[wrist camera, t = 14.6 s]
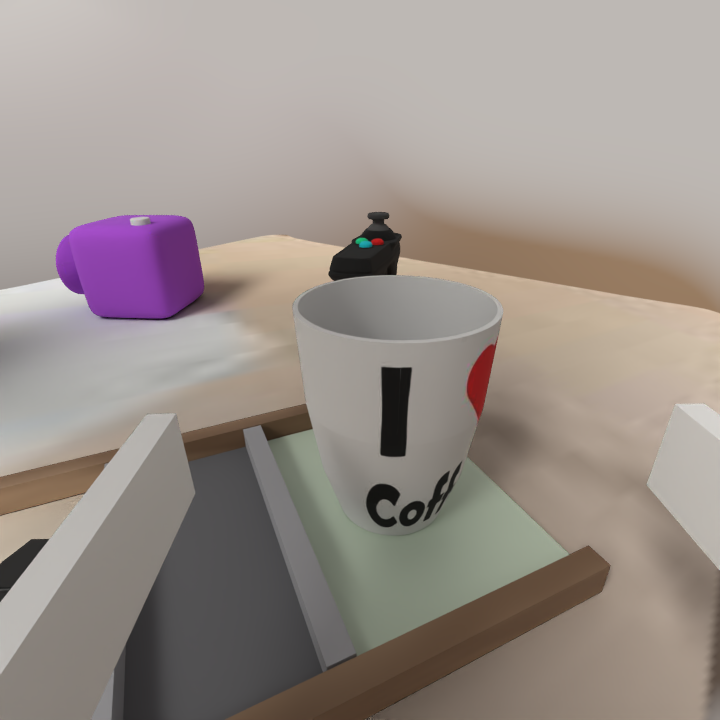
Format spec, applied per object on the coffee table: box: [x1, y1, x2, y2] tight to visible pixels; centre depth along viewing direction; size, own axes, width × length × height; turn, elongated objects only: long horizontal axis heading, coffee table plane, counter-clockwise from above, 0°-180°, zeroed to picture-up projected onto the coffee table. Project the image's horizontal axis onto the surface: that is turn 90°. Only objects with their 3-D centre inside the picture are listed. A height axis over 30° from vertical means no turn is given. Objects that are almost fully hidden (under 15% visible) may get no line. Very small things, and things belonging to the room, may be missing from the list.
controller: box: [328, 212, 402, 281], centre depth 41 cm, size 4×12×10 cm, turn 163°
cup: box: [292, 275, 503, 536], centre depth 19 cm, size 8×8×10 cm
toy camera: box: [56, 215, 204, 318], centre depth 47 cm, size 11×14×10 cm
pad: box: [267, 429, 570, 656], centre depth 22 cm, size 14×10×1 cm
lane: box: [0, 404, 611, 720], centre depth 19 cm, size 16×27×2 cm, turn 114°
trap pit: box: [91, 425, 357, 720], centre depth 18 cm, size 14×8×2 cm, turn 24°
